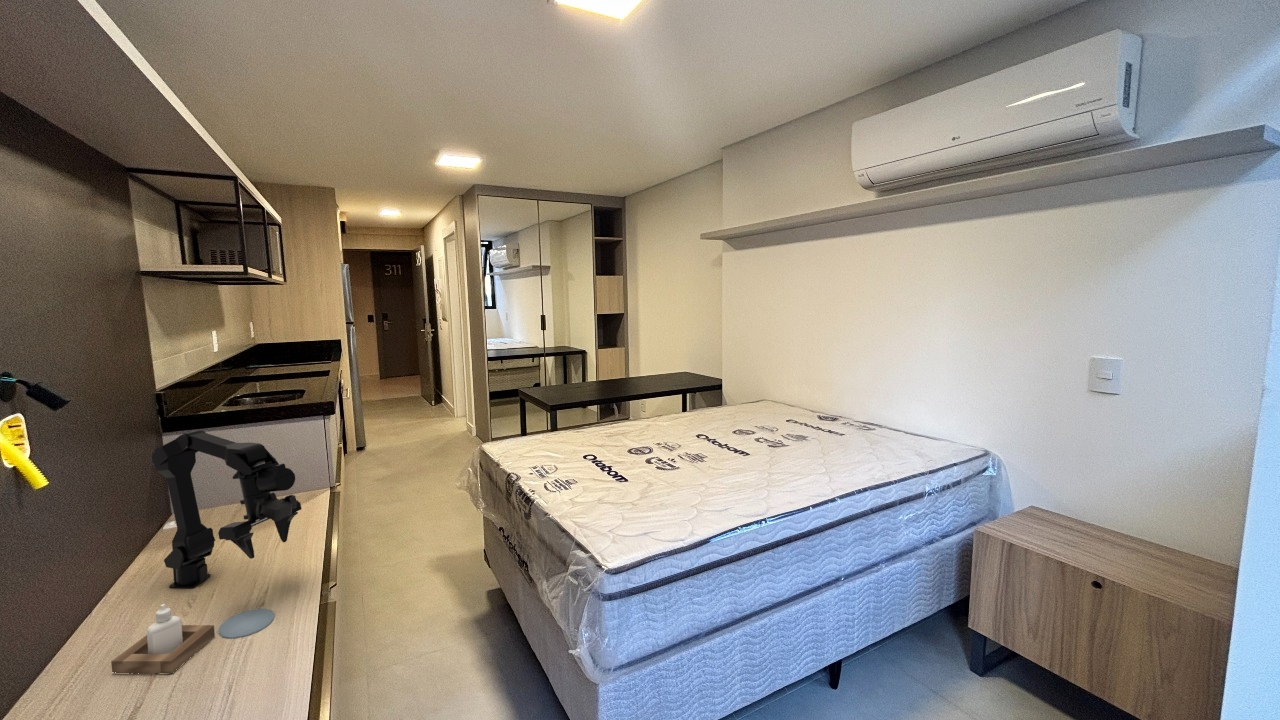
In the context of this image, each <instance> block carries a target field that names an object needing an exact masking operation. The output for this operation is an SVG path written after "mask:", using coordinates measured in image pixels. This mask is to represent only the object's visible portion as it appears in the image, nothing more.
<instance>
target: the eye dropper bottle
mask: <svg viewBox="0 0 1280 720" xmlns="http://www.w3.org/2000/svg"><path fill="white" fill-rule="evenodd" d="M159 607H160V608H159V609H158V610H157V611H156V612H155V620H156V621H155V622H154V623H152V624H151V625H150V626H149V627H148V628H147V630H146V635H147V643H148V654H170V653H171V652H172V651H173V650H174V649H176V648H177V647H178V646H179V645H181V644H182V643H183V636H182V625H183V624H182V619H181V617H180V616H178V615H172V609H171V608H170V607H167V606H166V604H165V603H163V604H160V606H159Z"/></svg>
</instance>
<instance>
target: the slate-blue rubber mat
mask: <svg viewBox="0 0 1280 720" xmlns="http://www.w3.org/2000/svg"><path fill="white" fill-rule="evenodd" d="M274 619H275V613H274V611H273V610H271V609H268V608H254V609H250V610H249V609H248V610H245V611H241V612H238V613H237V614H234V615H232V616H230V617H229V618H227V619H226V620H223V622H222V623H221V624H220V625H219V627H218V629H217V630H218V631H217V632H218V635H219V636H220V637H221V636H222V638H225V639H239V638H245V637H249V636H251V635H253V634H256V633H258V632H260V631H262V630H264V629H266V628H267V627H268V626H269V625H271V624H272V622H273V621H274Z"/></svg>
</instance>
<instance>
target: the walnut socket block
mask: <svg viewBox="0 0 1280 720" xmlns="http://www.w3.org/2000/svg"><path fill="white" fill-rule="evenodd" d="M215 635H216V632H215V625H214V624H212V625H211V624H189V625H188V624H182V636H183V643H182V644H181V645H179V646H178V647H177V648H176V649H174V650H173V651H172V652H171V653H170V654H148V643H147V634H146V635H144V636H143V637H142V638H141V639H139V640H138V641H137V642H135V643H134V644H132V645H131V646H130V647H128V648H127V649H125V650H124V651H123V652H121V654H119V655H118V656H116V657H115V658H114V659H112V660H111V665H110V666H111V673H112V672H114V673H115V672H116V673H129V674H128V675H156V674H155V673H173V672H174V671H175V670H176V669H177V670H179V669H180V668H181V667H182V666H183V665H184V664H185V663H186V661H187V660H188V659H189V658H190V657H191V658H193V657H194V656H195V655H196V654H197V653H198V652H199V651H200V650H202V649H203V648H204V647H205V646H206V645H208V644H209V641H210V640H211V641H212V640H213V639H214V638H215ZM195 653H196V654H195ZM194 654H195V655H194ZM191 658H190V659H191ZM190 659H189V660H190ZM189 660H188V661H189ZM188 661H187V662H188ZM184 662H185V663H184ZM183 663H184V664H183ZM182 664H183V665H182ZM181 665H182V666H181ZM180 666H181V667H180ZM179 667H180V668H179ZM178 668H179V669H178ZM177 670H176V671H177ZM176 671H175V672H176ZM175 672H174V673H175ZM131 673H133V674H131ZM138 673H139V674H138ZM152 673H153V674H152ZM174 673H173V674H174Z"/></svg>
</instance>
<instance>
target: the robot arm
mask: <svg viewBox="0 0 1280 720" xmlns="http://www.w3.org/2000/svg"><path fill="white" fill-rule="evenodd" d="M197 453H203V454H206V455H209V456H212V457H216V458H218V459H221V460H223V461H224V462H225V465H226V466H228V467H229V468H231V469H233V470H234V471H236V473H234V474H233V476H232V479H233V480H238V479H239V485H240V488H241V493H242V497H243V499H241V500H239V502H240V505H244V506H245V507H244V508H245V511H246V514H245V515H243V517H242V518H243V520H244V521H233V522H231V523H229V524H226V525H224V526H221V527H220V528H219V529H218V533H217V534H218V539H219V540H225V541H230V542H232V543H233V544H234V545H236V546H237V547H238V548H239V549H240V550H241V551H242V552H243V553H244V554H245V555H246V556H247V557H248V558H249V559H250V560H251V559H254V558H255V550H254V545H253V542H252V538H253V535H254V532H253V531H252V529H253V527H255V526H257V525H260V524H261V523H264V522H265V521H269V520H271V521H274V522H273V523H274V525H275V527H276V530H277V533H278V536H279V538H280V540H281V542H282V543H286V542H287V541H288V535H289V530H290V526H291V522H292V520H293V519H294V517H295V516H297V515H299V514H298V513H299V511H301V510H302V509H303V508H302V504H301V502H300V501H299V500H297V497H296V495H294V494H289V495H286V496H285V497H284V498H283V497H282V498H280V499H279V498H278V497H277V495H276V493H275V492H281V491H282V492H285V491H288V490H290V489H291V488H292V487H293V486H294V485H295V483H296V475H295V472H294V471H293V470H292V469H291V468H290V467H289V468H288V467H286V464H285V463H279V462H278V461H277V459H276V458H275V456H273V455H272V454H271V453H270V452H269V451H268V449H266V447H265V445H263V444H261V443H259V442H258V443H257V442H237V441H236V442H235V441H232V440H229V439H226V438H222V437H219V436H216V435H213V434H210V433H207V432H206V431H205V430H199V429H198V430H193V431H188V432H184V433H182V434H181V435H178V437H176V438H175V439H173V440H170V442H167V443H165V444H163V445H162V446H158V447H157V448H155V449H154V452H152V455H151V461H152V463H153V464H154V468H155V470H156V471H157V472H158V473H159V475H162V476H163V477H164V478H165V479H166V482H167V488H168V492H169V496H170V501H171V506H172V510H173V515H174V520H175V523H176V532H175V534H174V536H173V539H172V540H171V546H172V550H171V552H170V553H169V554H167V556H166V557H165V558H164V559H163V562H164V566H165V567H166V568H168V569H169V568H170V569H172V574H173V582H172V583H171V584H169V586H168V587H169V588H170V589H194V588H196V587H197V586H198V585H200V584H202V583H203V582H204V581H205V580H206V579H208V578H210V577H211V573H208V563H206V557H209V556H211V555H212V553H213V550H214V547H215V542H216V539H215V537H214V529H213V528H212V527H207V526H206V525H204V524H203V523H202V521H201V516H200V511H199V506H198V502H197V496H196V492H195V487H194V483H193V479H192V471H193V469H194V467H195V465H196V463H197V458H196V457H197V456H196V454H197ZM251 531H252V532H251Z"/></svg>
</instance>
